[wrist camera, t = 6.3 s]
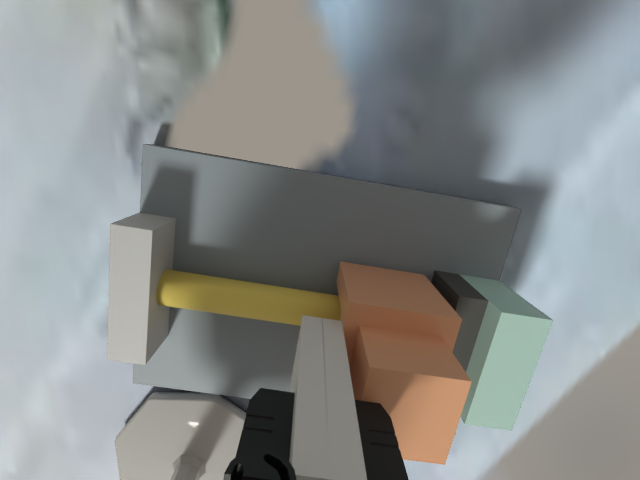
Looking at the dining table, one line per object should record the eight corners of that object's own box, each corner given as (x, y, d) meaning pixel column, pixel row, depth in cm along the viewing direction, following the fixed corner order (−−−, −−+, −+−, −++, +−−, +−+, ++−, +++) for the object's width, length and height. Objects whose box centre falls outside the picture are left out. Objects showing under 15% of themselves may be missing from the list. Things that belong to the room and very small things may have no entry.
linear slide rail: (153, 144, 16) (84, 143, 11) (509, 205, 17) (586, 229, 12) (141, 371, 19) (83, 447, 14) (445, 412, 20) (487, 496, 15)
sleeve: (340, 261, 16) (357, 339, 10) (424, 274, 17) (496, 359, 10) (323, 348, 17) (328, 471, 11) (402, 360, 18) (453, 486, 11)
